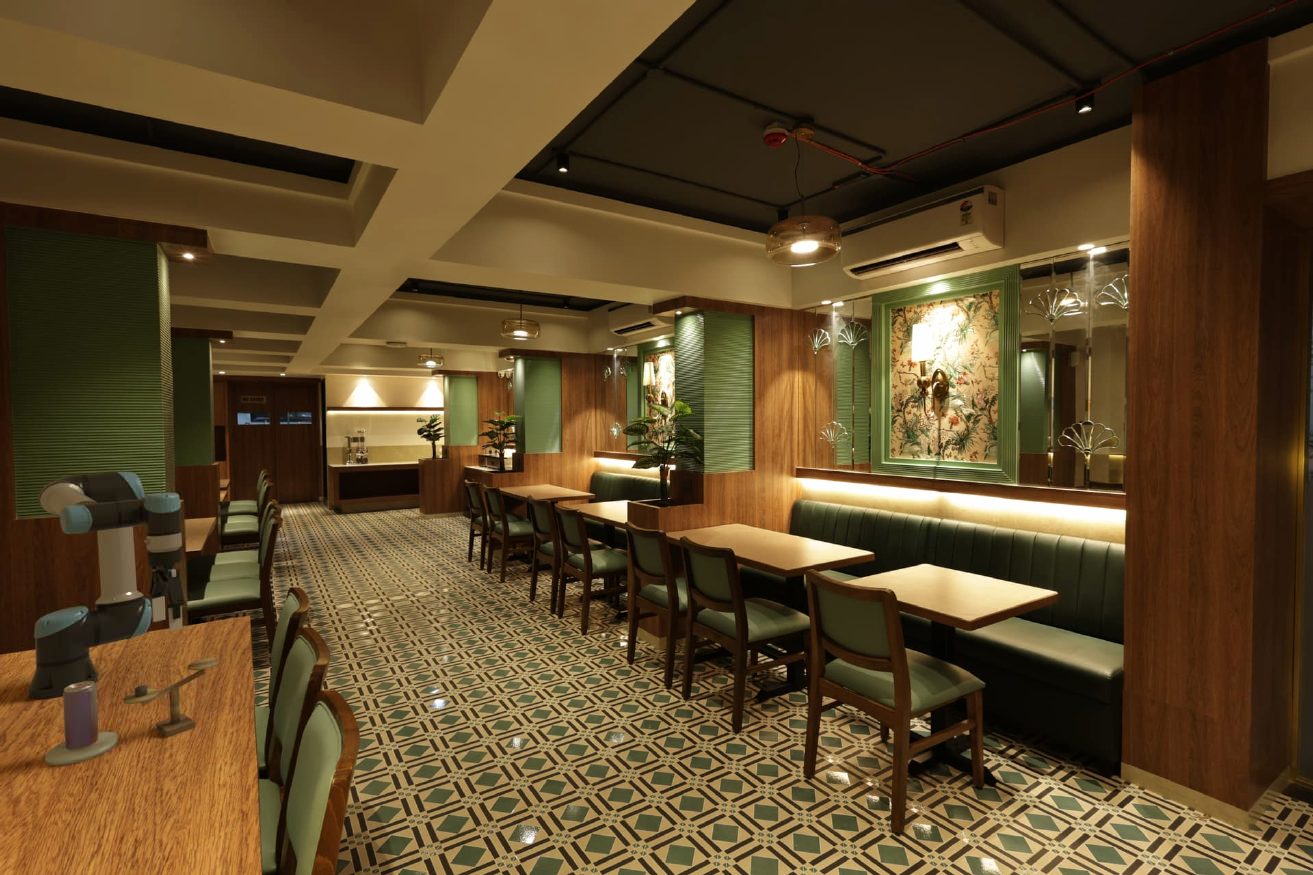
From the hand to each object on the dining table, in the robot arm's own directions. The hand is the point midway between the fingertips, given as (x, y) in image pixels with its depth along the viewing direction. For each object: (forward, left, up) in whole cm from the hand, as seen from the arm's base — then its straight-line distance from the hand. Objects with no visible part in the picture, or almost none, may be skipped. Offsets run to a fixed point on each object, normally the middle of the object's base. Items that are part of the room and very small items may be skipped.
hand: (167, 625), depth 168 cm
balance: (+12, -3, -24) cm, 27 cm away
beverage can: (+5, -19, -24) cm, 31 cm away
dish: (+6, -20, -24) cm, 32 cm away
